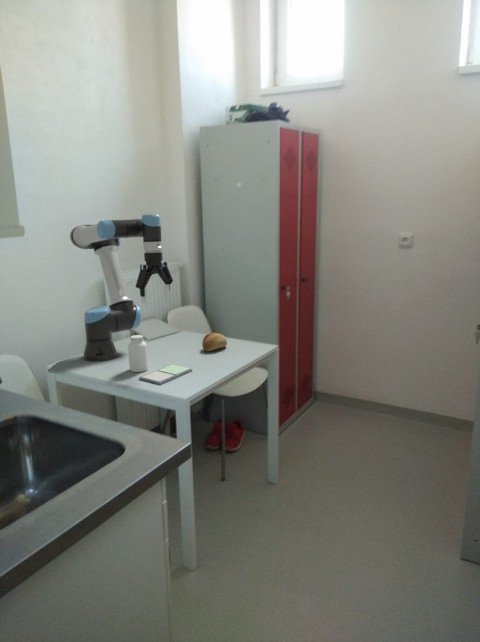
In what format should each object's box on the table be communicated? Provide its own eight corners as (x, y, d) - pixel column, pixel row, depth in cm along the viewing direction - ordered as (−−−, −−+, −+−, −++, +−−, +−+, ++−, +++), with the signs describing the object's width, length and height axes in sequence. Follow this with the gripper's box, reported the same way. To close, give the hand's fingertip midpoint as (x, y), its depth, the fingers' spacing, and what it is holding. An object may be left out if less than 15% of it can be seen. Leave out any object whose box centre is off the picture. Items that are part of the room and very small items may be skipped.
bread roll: (196, 351, 247) (196, 335, 246) (216, 344, 259) (216, 329, 257) (211, 354, 242) (211, 338, 240) (231, 347, 253) (231, 331, 251)
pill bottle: (139, 365, 226) (138, 333, 222) (151, 369, 221) (150, 336, 218) (125, 370, 220) (123, 336, 217) (137, 373, 215) (135, 339, 212)
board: (138, 379, 208) (138, 376, 208) (171, 366, 225) (171, 363, 224) (160, 384, 202) (160, 382, 202) (192, 371, 218) (192, 368, 218)
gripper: (137, 254, 201) (141, 307, 205) (179, 249, 221) (181, 297, 225) (124, 253, 205) (128, 305, 209) (166, 249, 225) (169, 296, 229)
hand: (156, 301), depth 217 cm, fingers open, 13 cm apart
